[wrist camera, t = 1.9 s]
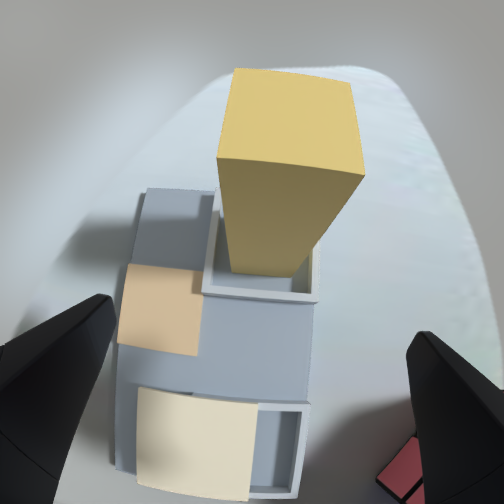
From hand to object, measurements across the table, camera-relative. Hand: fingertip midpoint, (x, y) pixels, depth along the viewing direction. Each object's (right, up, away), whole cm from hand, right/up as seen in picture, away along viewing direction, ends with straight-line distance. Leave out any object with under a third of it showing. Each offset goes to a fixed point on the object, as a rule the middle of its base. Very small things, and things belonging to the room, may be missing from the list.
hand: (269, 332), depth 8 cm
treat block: (0, +2, +13) cm, 13 cm away
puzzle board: (-3, -4, +11) cm, 12 cm away
